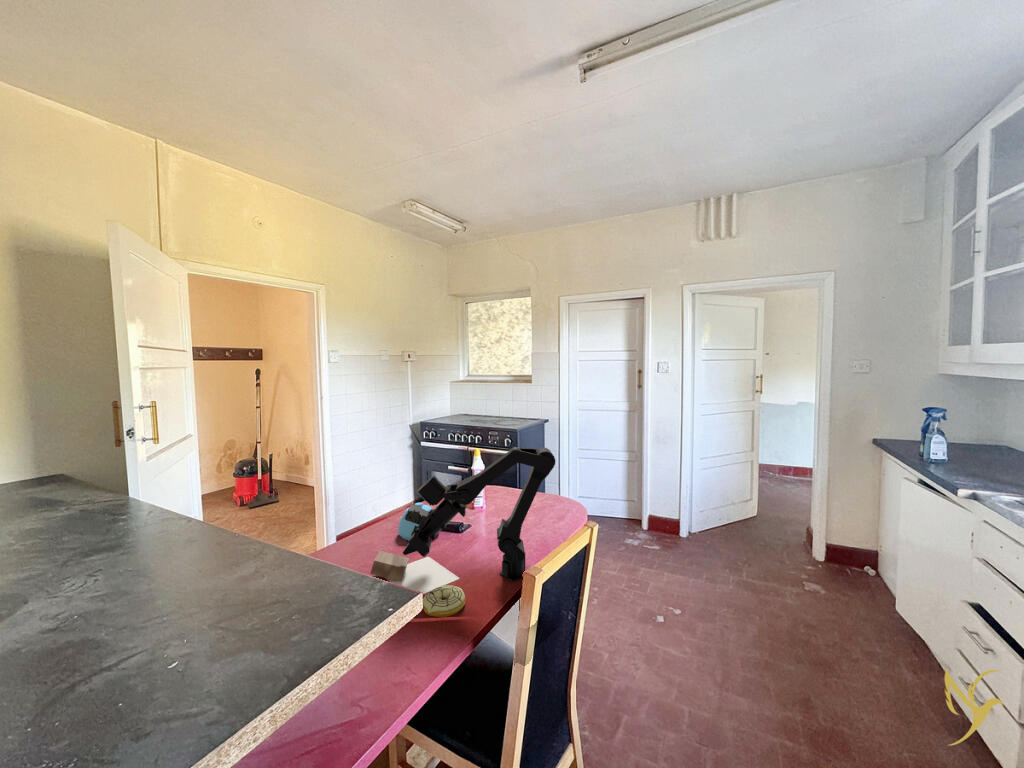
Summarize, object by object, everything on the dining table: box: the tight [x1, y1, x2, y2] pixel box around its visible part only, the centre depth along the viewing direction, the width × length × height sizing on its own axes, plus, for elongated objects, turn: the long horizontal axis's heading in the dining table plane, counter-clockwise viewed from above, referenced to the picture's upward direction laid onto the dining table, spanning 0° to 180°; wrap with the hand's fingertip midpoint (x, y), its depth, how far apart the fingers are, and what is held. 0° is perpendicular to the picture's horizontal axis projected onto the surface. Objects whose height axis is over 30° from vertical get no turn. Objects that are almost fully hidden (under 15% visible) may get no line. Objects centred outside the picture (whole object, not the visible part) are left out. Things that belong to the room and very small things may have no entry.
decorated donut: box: [422, 584, 466, 619], centre depth 103 cm, size 10×11×4 cm
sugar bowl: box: [397, 502, 433, 541], centre depth 148 cm, size 15×15×12 cm
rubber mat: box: [383, 556, 461, 595], centre depth 117 cm, size 16×18×1 cm
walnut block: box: [369, 550, 410, 581], centre depth 117 cm, size 4×6×9 cm
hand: (403, 553), depth 117 cm, fingers closed
